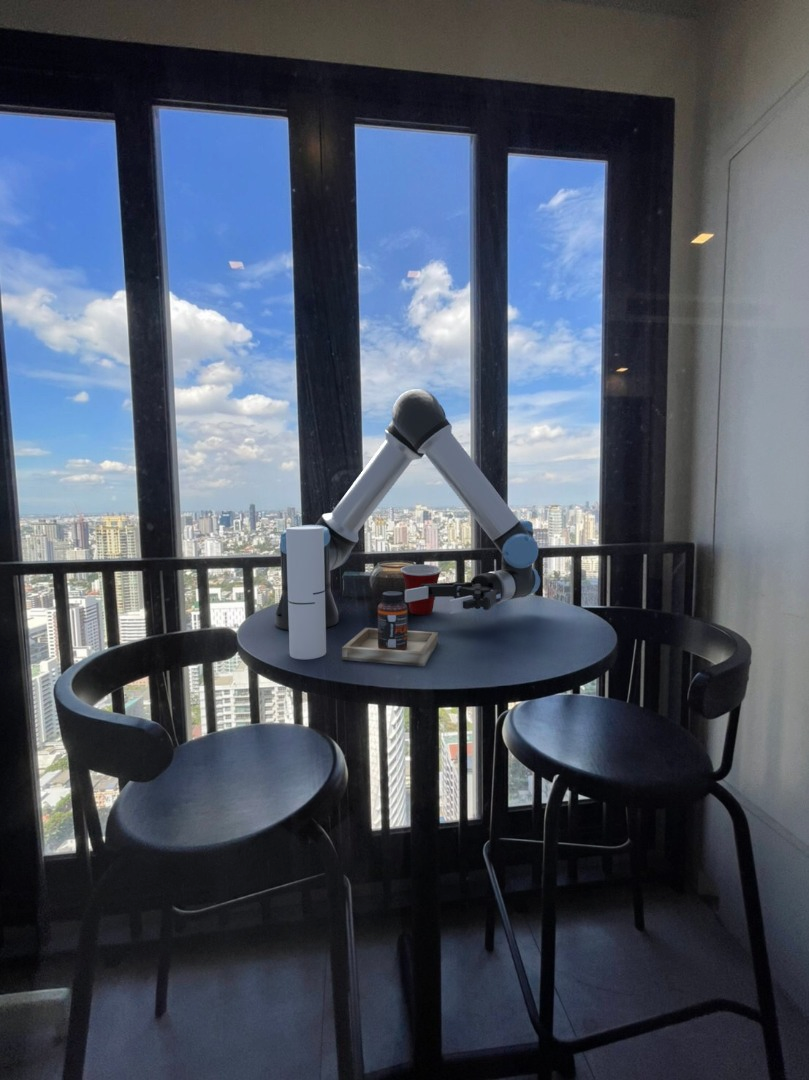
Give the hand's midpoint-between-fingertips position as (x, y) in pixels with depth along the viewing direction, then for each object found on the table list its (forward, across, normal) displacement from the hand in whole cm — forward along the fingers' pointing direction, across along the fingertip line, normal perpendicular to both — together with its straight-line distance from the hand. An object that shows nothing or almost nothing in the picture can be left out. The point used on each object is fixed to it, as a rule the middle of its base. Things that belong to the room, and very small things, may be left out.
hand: (426, 601), depth 105 cm
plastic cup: (-16, +19, -9) cm, 27 cm away
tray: (+9, 0, -9) cm, 13 cm away
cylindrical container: (+23, +10, -9) cm, 26 cm away
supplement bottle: (+9, 0, -8) cm, 13 cm away
